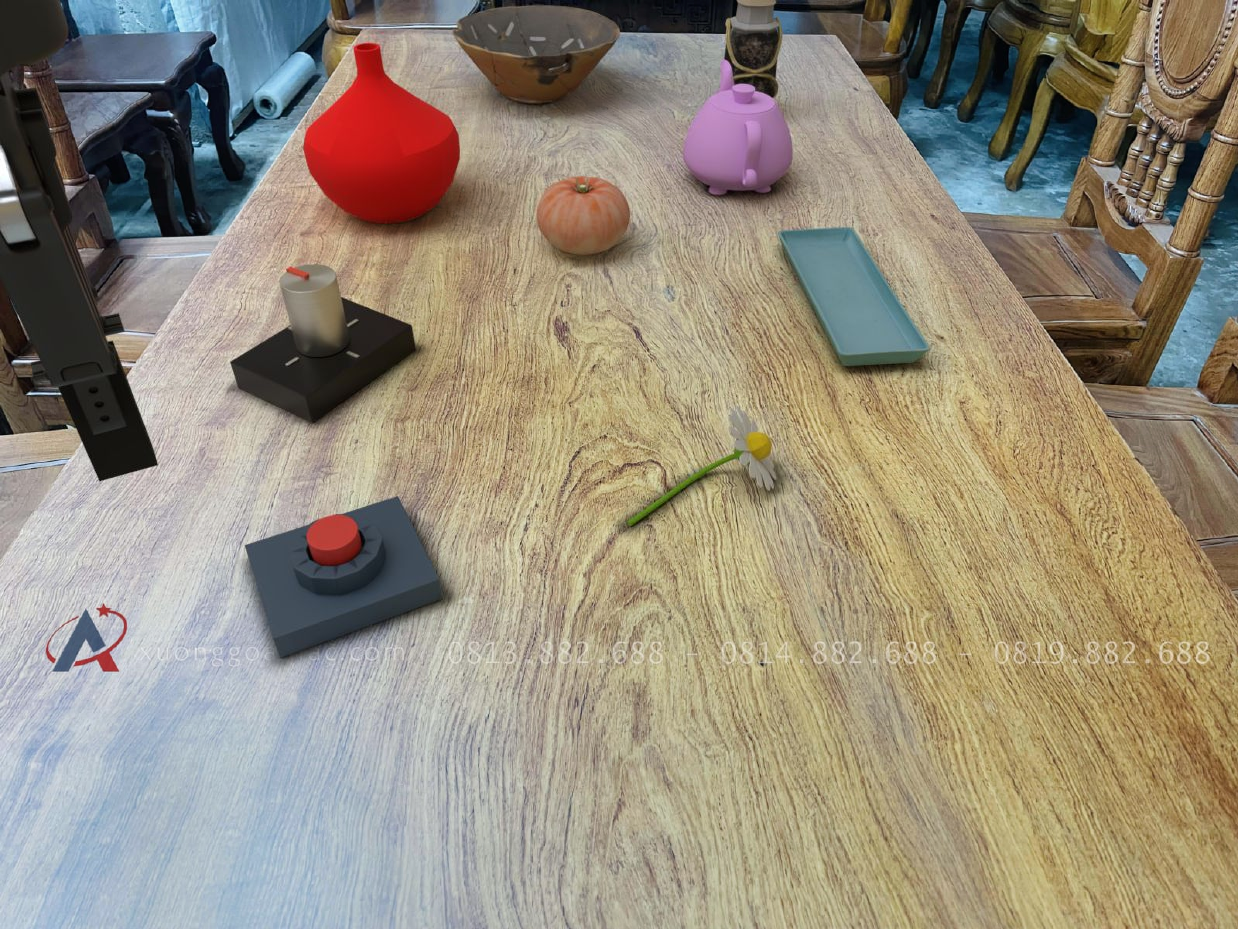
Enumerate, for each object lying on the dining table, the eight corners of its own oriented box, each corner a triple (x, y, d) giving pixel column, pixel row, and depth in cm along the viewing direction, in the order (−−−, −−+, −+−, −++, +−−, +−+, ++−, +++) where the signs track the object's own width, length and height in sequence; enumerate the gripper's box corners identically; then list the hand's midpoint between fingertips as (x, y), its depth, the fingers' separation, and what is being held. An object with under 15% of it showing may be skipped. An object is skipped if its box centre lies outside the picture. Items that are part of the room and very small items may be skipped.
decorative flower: (647, 469, 71) (770, 385, 79) (604, 482, 76) (723, 402, 84) (696, 557, 72) (813, 465, 80) (650, 565, 77) (764, 478, 85)
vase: (454, 242, 112) (434, 76, 99) (299, 239, 112) (260, 74, 99) (475, 175, 125) (460, 22, 113) (337, 173, 126) (307, 20, 113)
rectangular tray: (774, 245, 112) (776, 226, 110) (849, 242, 112) (853, 222, 111) (836, 375, 92) (840, 354, 91) (926, 370, 93) (932, 349, 91)
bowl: (638, 115, 141) (639, 46, 135) (474, 132, 136) (467, 61, 129) (594, 60, 159) (594, -4, 153) (448, 73, 154) (441, 7, 148)
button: (318, 573, 68) (313, 556, 66) (306, 540, 70) (301, 524, 69) (367, 556, 69) (363, 539, 68) (354, 525, 71) (350, 508, 70)
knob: (360, 337, 91) (347, 270, 86) (323, 363, 88) (306, 295, 83) (323, 322, 93) (307, 255, 88) (284, 346, 90) (266, 279, 85)
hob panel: (312, 423, 86) (305, 395, 84) (237, 387, 90) (228, 360, 88) (416, 350, 95) (412, 323, 93) (344, 320, 99) (338, 294, 97)
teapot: (668, 148, 132) (672, 58, 124) (767, 144, 134) (777, 55, 126) (694, 213, 118) (701, 116, 110) (805, 208, 119) (820, 112, 111)
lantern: (769, 105, 145) (789, -79, 128) (779, 126, 139) (802, -65, 122) (712, 106, 144) (726, -79, 128) (720, 127, 138) (735, -65, 122)
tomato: (567, 278, 106) (565, 211, 100) (521, 238, 112) (517, 174, 107) (647, 252, 110) (649, 188, 105) (598, 216, 117) (598, 153, 112)
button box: (280, 658, 66) (266, 622, 64) (251, 564, 73) (238, 528, 70) (443, 598, 71) (436, 562, 68) (401, 515, 77) (394, 479, 75)
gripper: (-208, -99, 35) (33, 413, 50) (-250, -8, 26) (56, 576, 41) (21, -111, 37) (182, 376, 53) (51, -33, 29) (232, 521, 44)
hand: (126, 464), depth 47 cm, fingers closed
